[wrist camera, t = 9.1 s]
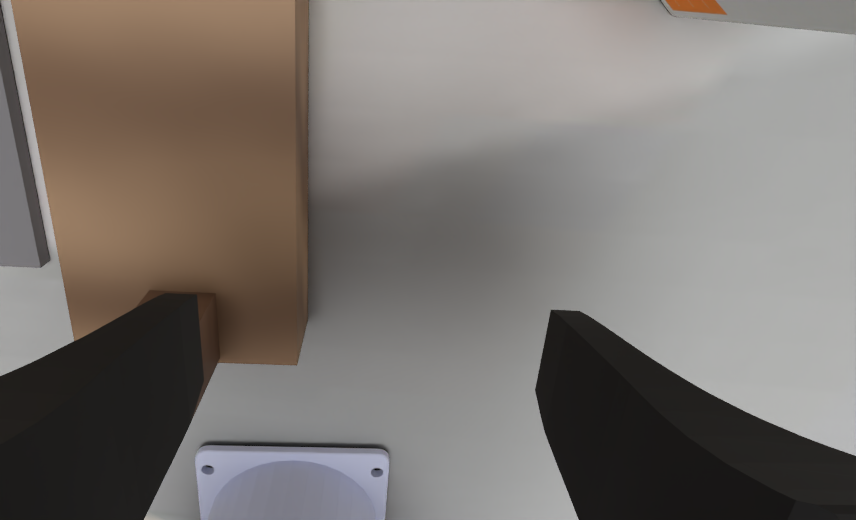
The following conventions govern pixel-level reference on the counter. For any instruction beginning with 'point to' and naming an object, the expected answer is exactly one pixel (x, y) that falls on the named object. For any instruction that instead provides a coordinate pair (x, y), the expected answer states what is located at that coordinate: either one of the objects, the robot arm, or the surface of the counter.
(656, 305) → the counter surface
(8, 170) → the mat
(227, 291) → the body
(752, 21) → the skincare box
